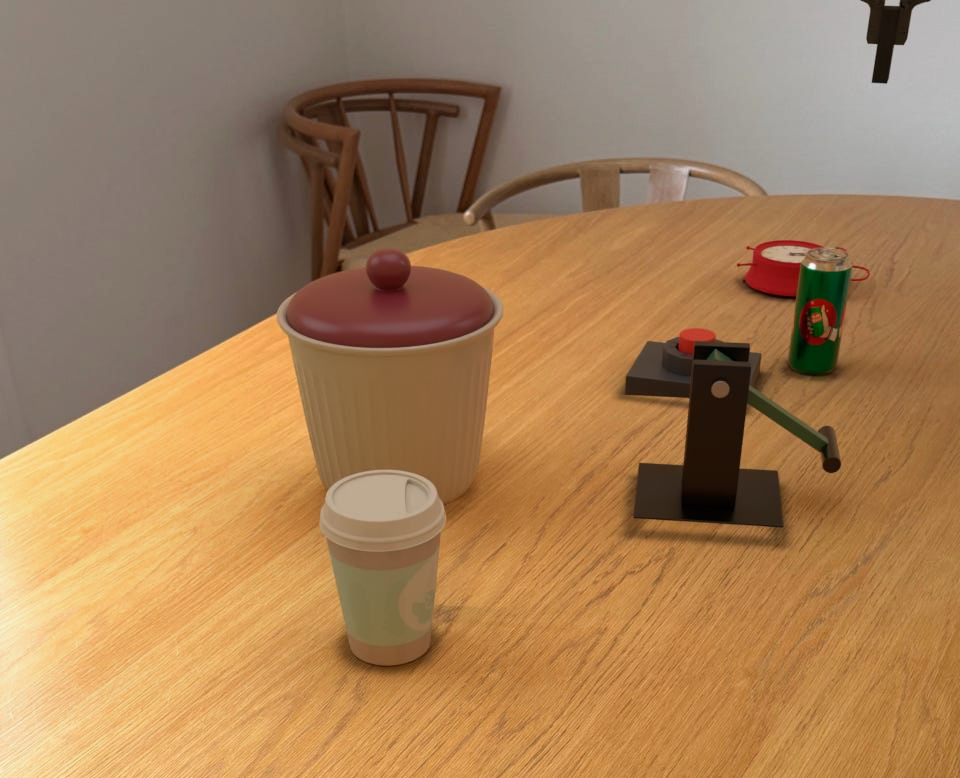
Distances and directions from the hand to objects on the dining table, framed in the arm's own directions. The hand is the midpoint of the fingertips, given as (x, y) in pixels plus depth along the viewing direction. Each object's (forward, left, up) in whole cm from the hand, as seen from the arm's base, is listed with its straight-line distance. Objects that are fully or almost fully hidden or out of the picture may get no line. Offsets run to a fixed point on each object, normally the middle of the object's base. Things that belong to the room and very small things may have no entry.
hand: (880, 80), depth 124 cm
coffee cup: (+25, +71, -27) cm, 80 cm away
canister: (+33, +49, -27) cm, 65 cm away
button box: (+13, +18, -26) cm, 35 cm away
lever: (+3, +43, -18) cm, 47 cm away
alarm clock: (+6, -16, -27) cm, 32 cm away
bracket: (+7, +44, -26) cm, 52 cm away
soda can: (+2, +10, -27) cm, 28 cm away
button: (+13, +18, -23) cm, 32 cm away
